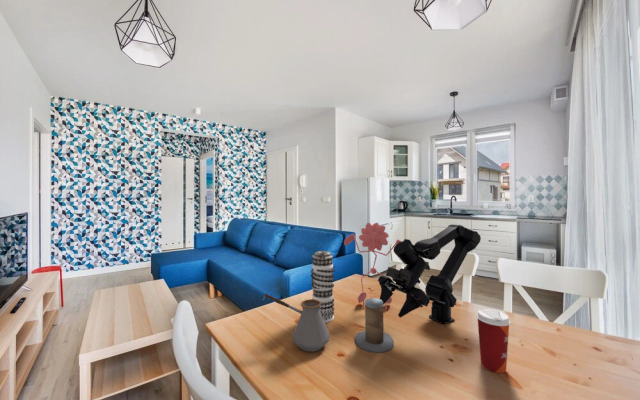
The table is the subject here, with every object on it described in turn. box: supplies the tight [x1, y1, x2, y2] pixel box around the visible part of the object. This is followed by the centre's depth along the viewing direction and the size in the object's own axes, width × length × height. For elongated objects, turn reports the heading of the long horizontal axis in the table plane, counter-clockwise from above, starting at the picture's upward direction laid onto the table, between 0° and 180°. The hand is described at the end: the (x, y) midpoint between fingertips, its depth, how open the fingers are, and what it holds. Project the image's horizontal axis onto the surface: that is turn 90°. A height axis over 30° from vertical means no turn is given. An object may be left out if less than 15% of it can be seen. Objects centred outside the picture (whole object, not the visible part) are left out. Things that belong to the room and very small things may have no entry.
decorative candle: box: [310, 250, 336, 324], centre depth 100 cm, size 9×9×25 cm
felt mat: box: [354, 330, 395, 354], centre depth 83 cm, size 12×12×1 cm
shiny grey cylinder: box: [364, 297, 384, 344], centre depth 83 cm, size 6×6×12 cm
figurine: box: [343, 222, 402, 311], centre depth 114 cm, size 15×26×35 cm, turn 80°
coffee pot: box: [262, 293, 330, 353], centre depth 82 cm, size 21×12×15 cm, turn 81°
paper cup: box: [475, 308, 511, 374], centre depth 70 cm, size 8×8×14 cm
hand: (388, 311), depth 86 cm, fingers open, 9 cm apart
